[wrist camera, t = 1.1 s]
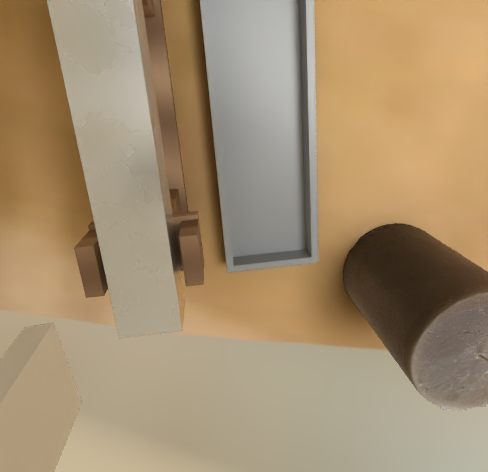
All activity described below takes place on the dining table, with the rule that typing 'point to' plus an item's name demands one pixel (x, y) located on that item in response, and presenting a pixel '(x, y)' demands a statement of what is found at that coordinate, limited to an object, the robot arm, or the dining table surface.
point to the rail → (122, 158)
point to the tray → (264, 129)
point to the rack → (183, 220)
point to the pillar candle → (425, 311)
